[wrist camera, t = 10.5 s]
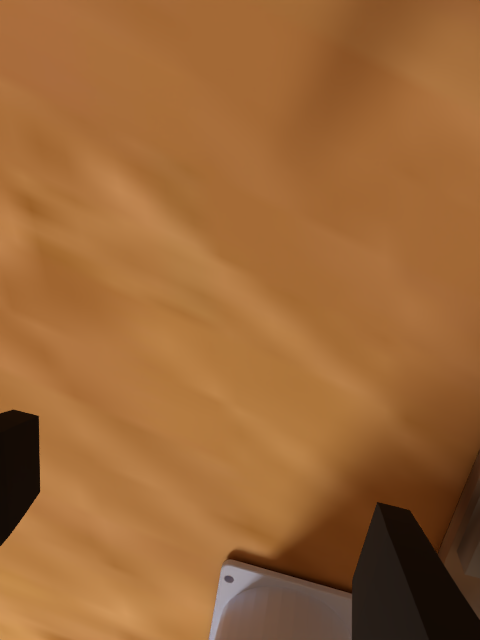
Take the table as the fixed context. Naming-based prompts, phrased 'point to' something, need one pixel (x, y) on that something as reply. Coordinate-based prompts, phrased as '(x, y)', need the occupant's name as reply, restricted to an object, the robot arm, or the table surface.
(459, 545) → the picture frame
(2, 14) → the table surface
